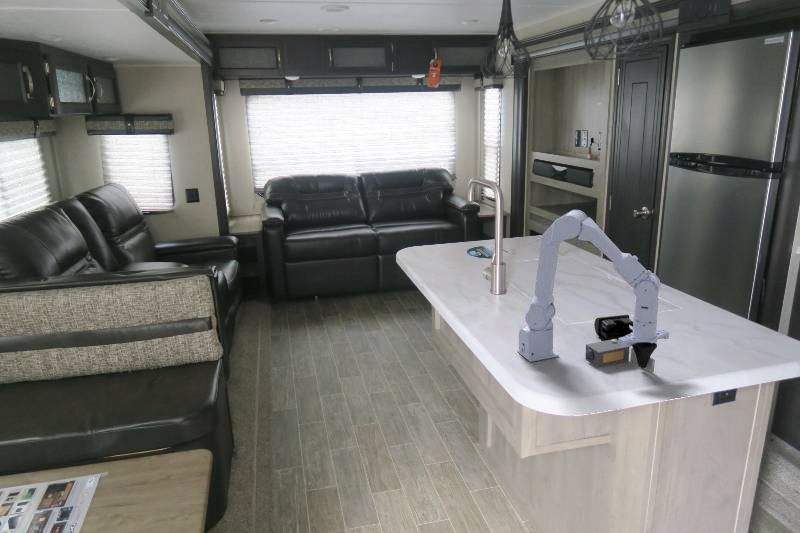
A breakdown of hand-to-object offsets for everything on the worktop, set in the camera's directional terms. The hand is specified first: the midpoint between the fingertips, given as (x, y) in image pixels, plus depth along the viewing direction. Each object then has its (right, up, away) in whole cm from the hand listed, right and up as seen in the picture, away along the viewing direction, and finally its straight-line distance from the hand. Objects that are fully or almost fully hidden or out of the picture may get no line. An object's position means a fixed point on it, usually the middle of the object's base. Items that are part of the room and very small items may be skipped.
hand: (641, 366), depth 154 cm
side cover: (+1, 0, +2) cm, 3 cm away
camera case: (-7, 0, +8) cm, 10 cm away
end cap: (+1, +5, +23) cm, 24 cm away
